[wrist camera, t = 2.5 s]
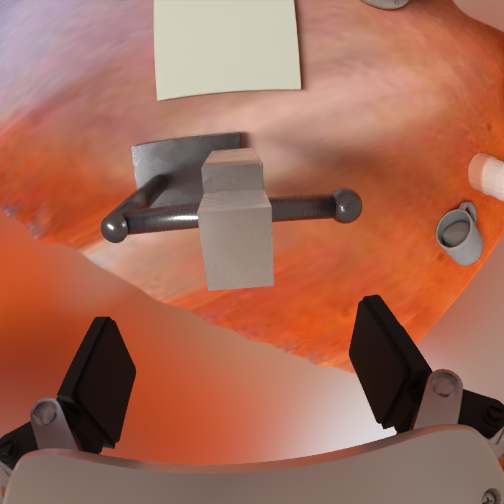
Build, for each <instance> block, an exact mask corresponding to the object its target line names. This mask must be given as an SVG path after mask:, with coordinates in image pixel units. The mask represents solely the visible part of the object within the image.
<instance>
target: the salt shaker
mask: <svg viewBox="0 0 504 504" xmlns="http://www.w3.org/2000/svg"><path fill="white" fill-rule="evenodd" d="M468 178H469V182H470V185H471V186H472V188H473V189H475V190H477V191H479V192H481V193H483V194H485V195H487V196H494V197H496V198H498V199H499V200H501V201H504V162H503V161H499V160H498V159H497V158H496V157H494V156H491V155H488V154H485V153H477V154H475V155H474V156H473V158H472V159H471V162H470V164H469V168H468Z"/></svg>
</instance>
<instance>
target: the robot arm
mask: <svg viewBox="0 0 504 504" xmlns="http://www.w3.org/2000/svg"><path fill="white" fill-rule="evenodd" d="M361 1H363V2H365V3H367V4H369V5H371V6H374V7H377V8H380V9H386V10H387V9H391V10H393V9H397V8H400V7H402V6H404V5H405V4H406V3H407V2H408V1H409V0H361ZM349 356H350V360H351V362H352V364H353V367H354V369H355V371H356V374H357V376H358V378H359V381H360V383H361V385H362V388H363V390H364V392H365V395H366V397H367V400H368V402H369V405H370V407H371V409H372V412H373V414H374V417H375V419H376V421H377V423H379V424H380V423H381V424H382V427H383V429H387V428H390V427H393V426H394V428H395V430H396V431H397V433H396V435H394V436H390V437H387V438H384V439H381V440H377V441H373V442H370V443H366V444H363V445H359V446H354V447H350V448H346V449H342V450H337V451H333V452H328V453H323V454H318V455H312V456H306V457H300V458H294V459H287V460H279V461H269V462H260V463H246V464H222V465H195V464H171V463H158V462H147V461H138V460H131V459H123V458H116V457H110V456H104V455H103V454H102V452H101V451H102V448H103V447H106V448H112V449H114V448H115V443H116V442H119V440H120V436H121V431H122V427H123V422H124V419H125V414H126V410H127V406H128V402H129V398H130V394H131V390H132V387H133V383H134V380H135V375H136V368H135V365H134V363H133V361H132V359H131V357H130V355H129V353H128V350H127V348H126V346H125V343H124V341H123V339H122V337H121V334H120V332H119V329H118V327H117V325H116V322H115V321H114V320H112V319H111V318H110V317H96V318H95V319H94V320H93V322H92V324H91V326H90V328H89V330H88V331H87V333H86V335H85V337H84V339H83V341H82V343H81V345H80V347H79V349H78V351H77V353H76V355H75V357H74V359H73V361H72V363H71V365H70V367H69V370H68V372H67V374H66V376H65V378H64V380H63V382H62V385H61V387H60V389H59V392H58V394H57V395H58V397H57V399H56V400H55V399H52V398H44V399H41V400H40V401H38V402H37V403H36V404H35V405H34V406H33V408H32V409H31V413H30V420H31V421H30V422H28V423H26V424H24V425H23V426H21V427H19V428H17V429H15V430H13V431H11V432H10V433H8V434H6V435H4V436H3V437H2V438H1V439H0V504H504V405H503V404H502V403H501V402H500V401H498V400H496V399H493V398H490V397H486V396H483V395H480V394H477V393H474V392H470V391H468V390H465V389H463V383H462V381H461V379H460V378H459V376H458V375H457V374H455V373H454V372H453V371H450V370H446V369H439V370H436V371H434V372H432V370H431V368H430V367H429V365H428V364H427V362H426V360H425V359H424V357H423V356H422V354H421V353H420V351H419V350H418V348H417V347H416V345H415V344H414V342H413V341H412V339H411V338H410V336H409V335H408V333H407V332H406V330H405V329H404V327H403V326H402V325H400V323H399V322H398V321H397V319H396V318H395V316H394V315H393V313H392V312H391V311H390V309H389V308H388V306H387V305H386V304H385V302H384V301H383V300H382V298H381V297H380V296H379V295H371V296H365V297H364V298H363V300H362V301H360V302H359V304H358V310H357V315H356V320H355V325H354V330H353V335H352V340H351V344H350V349H349Z"/></svg>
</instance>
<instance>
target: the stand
mask: <svg viewBox="0 0 504 504" xmlns="http://www.w3.org/2000/svg"><path fill="white" fill-rule="evenodd" d="M131 149H132V156H133V163H134V170H135V177H136V183H137V189H138V190H136V191H135V192H134V193H133V194H132V195H130V196H129V197H128V198H127V199H126V200H125V201H123V202H122V203H121V204H120V205H119V206H118V207H117V208H115V209H114V210H113V211H112V212H111V213H110V214H109V215H108V216H107V217H105V218H104V219H103V221H102V223H101V232H102V234H103V236H104V237H105V238H106V239H107V240H108V241H110V242H112V243H119V242H121V241H123V240H124V239H125V237H126V236H127V235H132V234H142V233H152V232H161V231H172V230H182V229H193V228H199V224H198V216H197V212H198V209H199V206H200V203H201V200H202V197H203V195H204V190H203V181H202V172H201V168H202V166H203V164H204V163H205V161H206V160H207V158H208V156H209V155H210V153H211V152H212V151H219V150H230V149H241V145H240V133H239V132H238V133H225V134H214V135H205V136H196V137H187V138H180V139H172V140H166V141H159V142H153V143H147V144H141V145H136V146H132V147H131ZM268 200H269V202H270V204H271V207H272V222H280V221H295V220H311V219H328V218H333V219H334V220H335V221H337V222H339V223H344V224H347V223H351V222H353V221H355V220H356V219H357V218H358V217H359V216H360V214H361V211H362V201H361V198H360V196H359V195H358V194H357V193H356V192H355V191H354V190H352V189H349V188H339V189H337V190H335V191H334V192H332V194H319V195H297V196H279V197H268Z"/></svg>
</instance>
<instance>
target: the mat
mask: <svg viewBox="0 0 504 504" xmlns="http://www.w3.org/2000/svg"><path fill="white" fill-rule="evenodd" d="M154 49H155V72H156V88H157V101H162V100H168V99H174V98H181V97H188V96H196V95H204V94H214V93H225V92H238V91H257V90H301V81H300V65H299V51H298V39H297V27H296V17H295V7H294V0H154Z"/></svg>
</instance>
